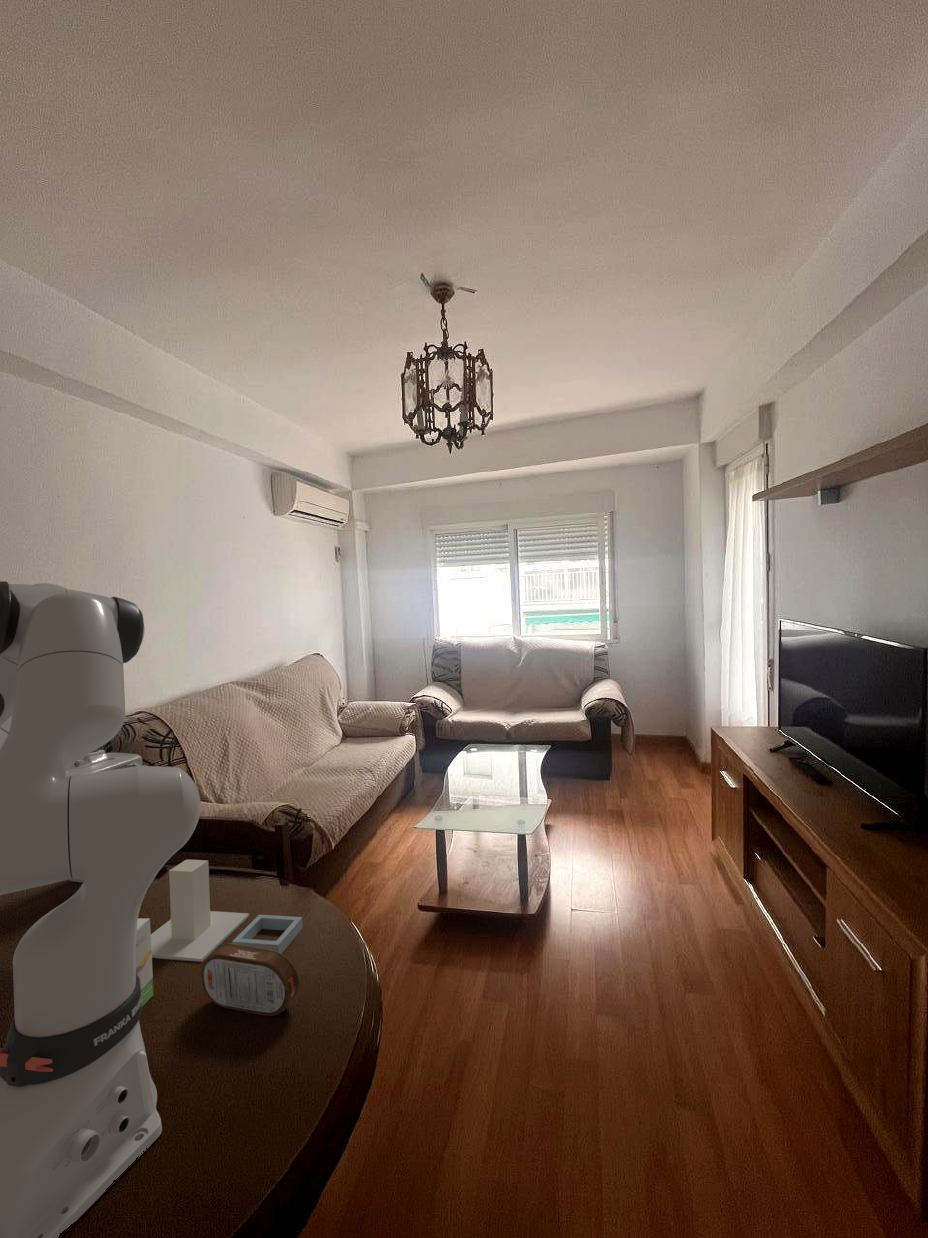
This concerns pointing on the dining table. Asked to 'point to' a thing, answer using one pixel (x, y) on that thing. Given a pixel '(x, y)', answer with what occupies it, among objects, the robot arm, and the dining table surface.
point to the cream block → (189, 899)
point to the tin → (249, 979)
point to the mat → (202, 945)
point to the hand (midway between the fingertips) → (126, 778)
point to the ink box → (144, 959)
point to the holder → (275, 923)
